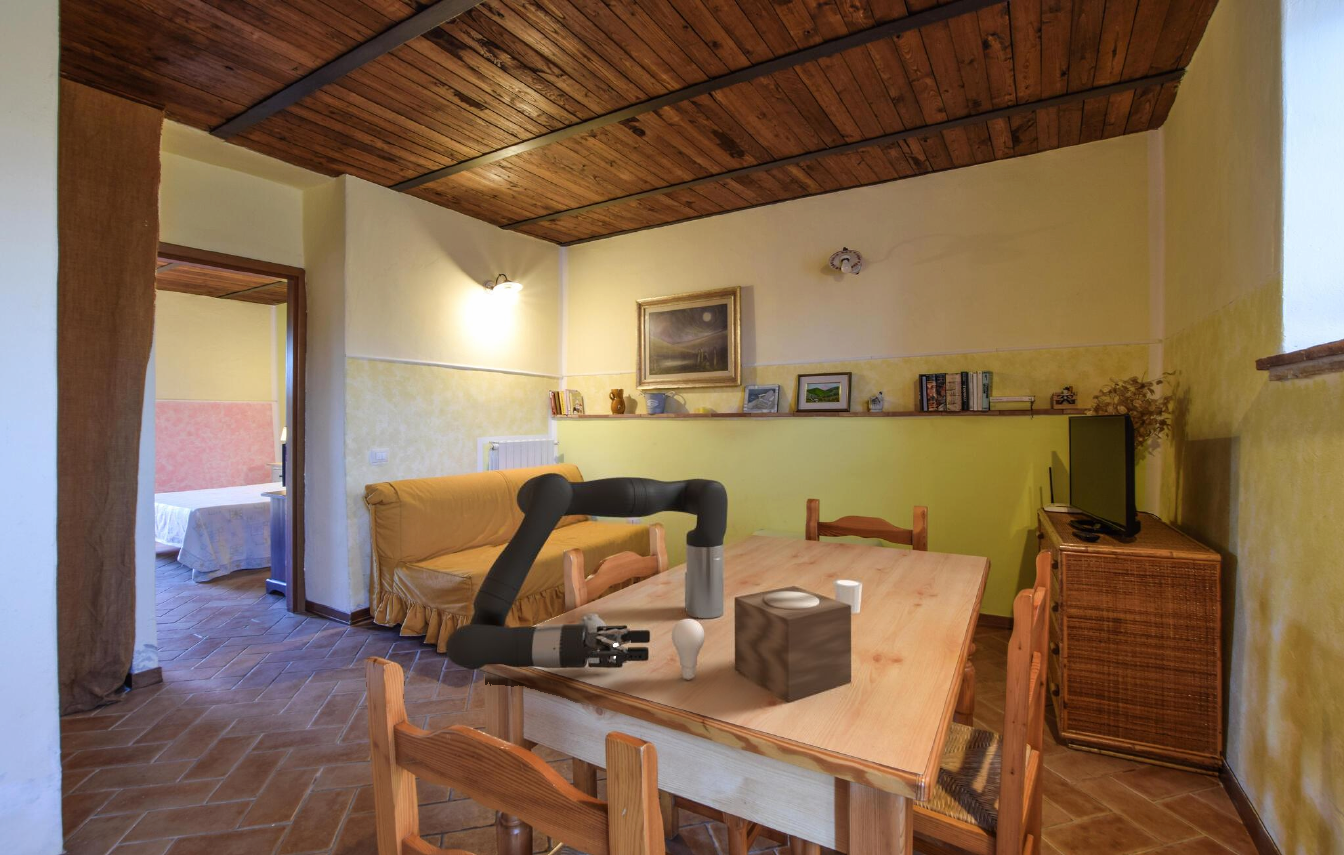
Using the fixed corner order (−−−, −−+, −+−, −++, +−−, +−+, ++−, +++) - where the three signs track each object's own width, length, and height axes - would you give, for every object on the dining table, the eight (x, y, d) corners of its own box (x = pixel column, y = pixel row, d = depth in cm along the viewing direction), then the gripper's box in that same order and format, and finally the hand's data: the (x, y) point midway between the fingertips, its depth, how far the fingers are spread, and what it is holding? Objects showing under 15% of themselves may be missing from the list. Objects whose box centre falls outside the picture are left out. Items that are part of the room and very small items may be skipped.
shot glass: (865, 608, 149) (865, 581, 149) (858, 616, 143) (858, 587, 143) (838, 604, 152) (838, 577, 152) (830, 611, 147) (830, 583, 147)
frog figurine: (594, 640, 128) (594, 608, 127) (615, 649, 123) (615, 615, 123) (571, 647, 123) (571, 614, 123) (591, 657, 118) (591, 622, 118)
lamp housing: (734, 670, 111) (734, 595, 111) (795, 654, 119) (795, 583, 119) (788, 702, 98) (788, 617, 98) (852, 681, 106) (852, 602, 106)
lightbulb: (702, 687, 104) (702, 626, 104) (668, 685, 105) (668, 624, 105) (707, 673, 110) (706, 615, 110) (675, 671, 111) (675, 613, 111)
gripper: (553, 639, 100) (648, 638, 101) (567, 613, 115) (650, 611, 115) (553, 683, 100) (648, 682, 101) (567, 651, 115) (650, 650, 115)
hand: (649, 644), depth 108 cm, fingers open, 8 cm apart
